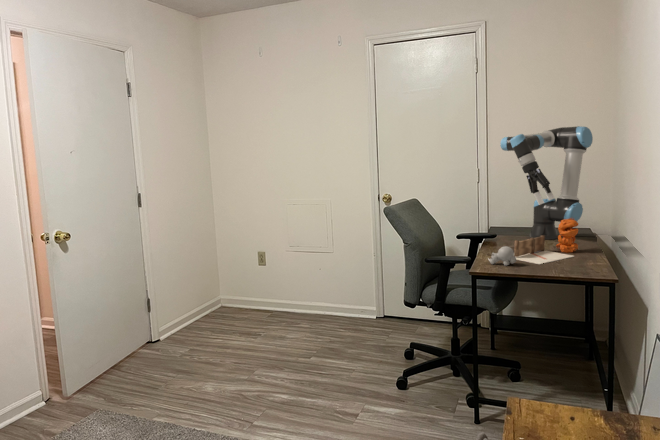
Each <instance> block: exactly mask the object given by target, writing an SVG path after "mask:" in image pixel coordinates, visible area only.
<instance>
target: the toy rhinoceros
mask: <svg viewBox="0 0 660 440" xmlns="http://www.w3.org/2000/svg"><path fill="white" fill-rule="evenodd" d="M487 259H488V261H489V263H490V264H491V265H496V263H497V262H499V261H501V262H503V266H505V267H506V266H509V265H510V264H515V263H517V260H516V258H515V256H514V249H513V248H512V247H511V246H507V245H506V246H502V247H500V248H499V249H498V250H497V252H492V253H491V258H489V257H487Z"/></svg>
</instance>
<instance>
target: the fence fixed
mask: <svg viewBox="0 0 660 440" xmlns="http://www.w3.org/2000/svg"><path fill="white" fill-rule="evenodd" d="M529 239H532V251H531V253H530V254H534V252H537V251H545V244H546V243H545V241H546V239H545V236H544V235H541V237H536V238H531V237H529Z"/></svg>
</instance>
